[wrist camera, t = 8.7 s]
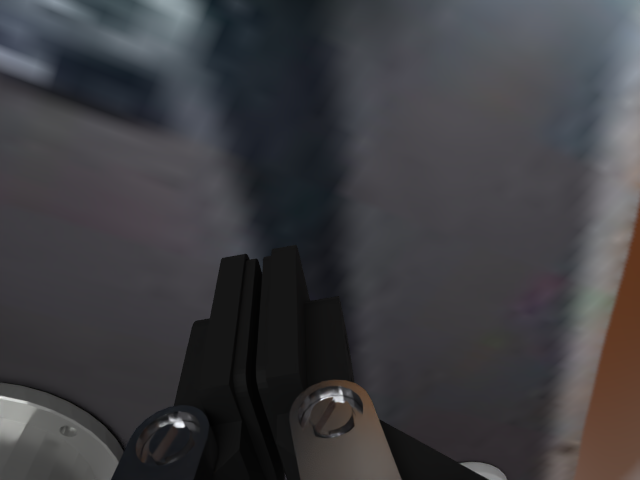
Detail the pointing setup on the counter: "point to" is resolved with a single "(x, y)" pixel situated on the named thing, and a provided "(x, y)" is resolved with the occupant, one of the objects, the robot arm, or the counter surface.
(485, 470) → the chess pawn
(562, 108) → the counter surface
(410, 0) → the counter surface
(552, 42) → the counter surface
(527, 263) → the counter surface
